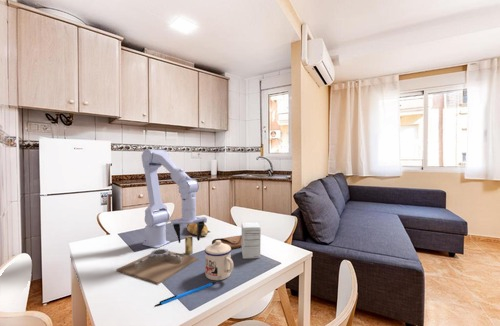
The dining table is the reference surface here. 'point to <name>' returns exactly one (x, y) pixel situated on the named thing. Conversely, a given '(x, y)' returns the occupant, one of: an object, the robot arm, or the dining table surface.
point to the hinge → (158, 257)
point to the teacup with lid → (218, 261)
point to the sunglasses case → (231, 241)
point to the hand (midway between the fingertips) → (189, 240)
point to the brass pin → (188, 245)
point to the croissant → (193, 229)
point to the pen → (184, 294)
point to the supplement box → (251, 240)
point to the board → (157, 268)
